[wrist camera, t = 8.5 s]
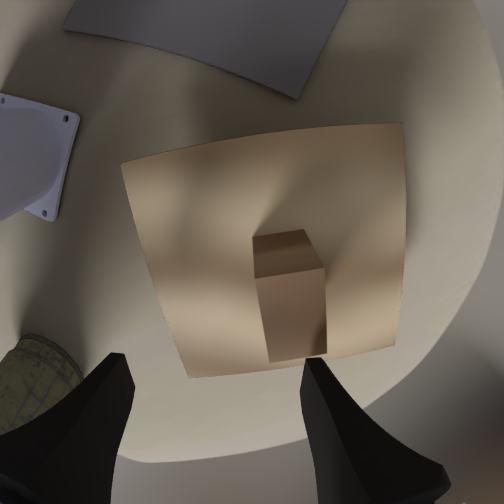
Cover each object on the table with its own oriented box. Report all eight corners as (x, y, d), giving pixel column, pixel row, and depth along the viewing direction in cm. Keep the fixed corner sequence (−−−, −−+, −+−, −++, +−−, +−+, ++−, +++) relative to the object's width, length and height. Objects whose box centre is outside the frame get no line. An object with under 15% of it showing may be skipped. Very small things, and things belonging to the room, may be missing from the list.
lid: (124, 162, 13) (77, 181, 9) (396, 122, 13) (452, 127, 8) (190, 371, 18) (180, 429, 14) (391, 339, 18) (419, 390, 13)
